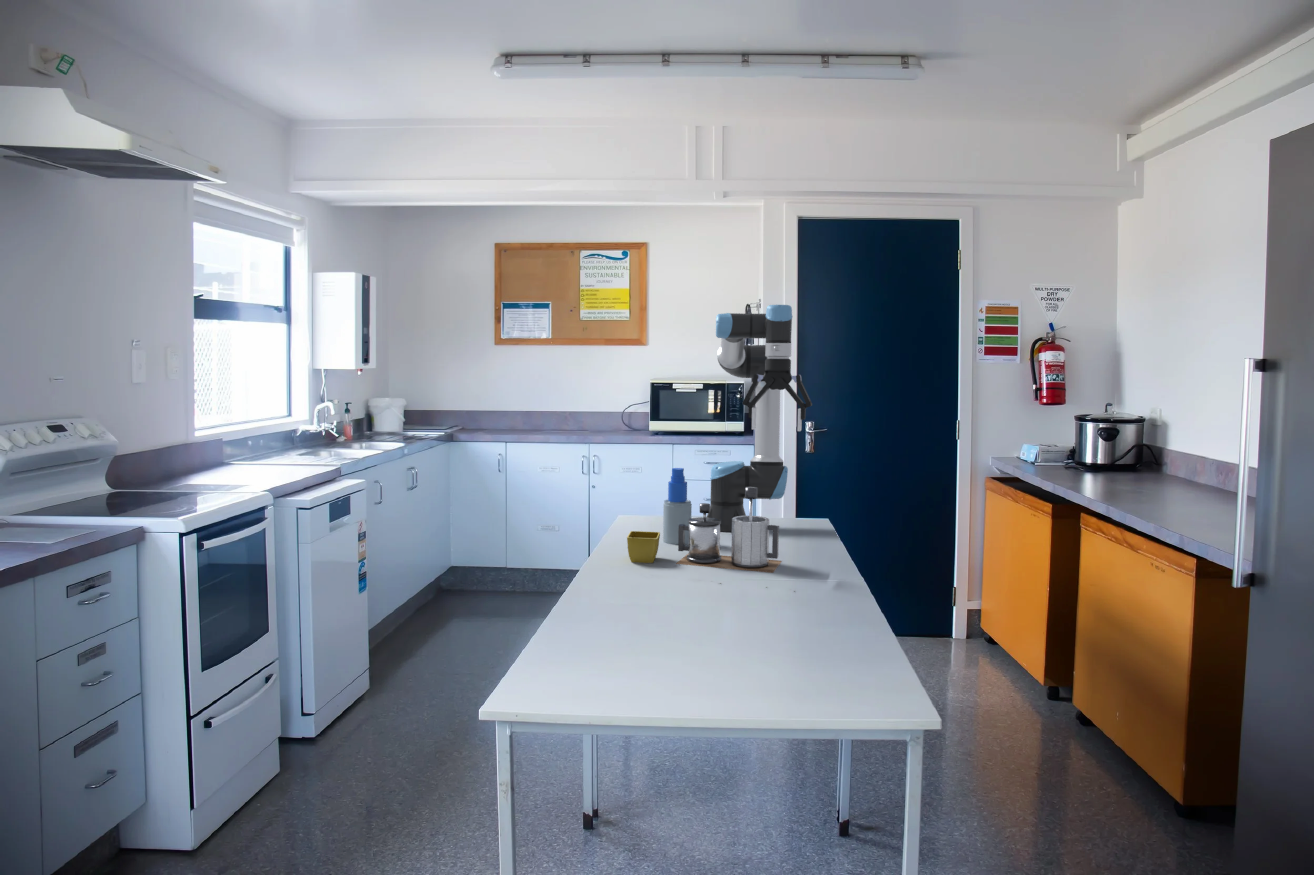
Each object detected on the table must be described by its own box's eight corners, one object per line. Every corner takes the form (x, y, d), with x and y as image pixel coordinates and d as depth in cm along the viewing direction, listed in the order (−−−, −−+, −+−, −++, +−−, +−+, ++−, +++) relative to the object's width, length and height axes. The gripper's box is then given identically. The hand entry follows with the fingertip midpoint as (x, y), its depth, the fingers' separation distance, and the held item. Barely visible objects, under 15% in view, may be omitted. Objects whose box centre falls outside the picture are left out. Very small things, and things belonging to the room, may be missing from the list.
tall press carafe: (736, 558, 236) (736, 514, 235) (780, 562, 232) (781, 517, 231) (727, 566, 227) (728, 521, 225) (773, 571, 222) (774, 524, 221)
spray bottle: (690, 542, 262) (691, 466, 260) (691, 549, 253) (692, 470, 251) (663, 542, 262) (663, 466, 260) (662, 549, 254) (663, 470, 251)
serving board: (689, 557, 243) (689, 552, 243) (782, 565, 234) (782, 560, 234) (675, 568, 230) (675, 563, 230) (772, 578, 221) (773, 572, 221)
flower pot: (660, 561, 238) (660, 531, 237) (657, 569, 229) (657, 538, 228) (630, 560, 239) (630, 530, 238) (626, 568, 230) (626, 537, 229)
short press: (684, 553, 241) (684, 499, 240) (725, 557, 237) (725, 502, 236) (673, 561, 232) (674, 505, 230) (716, 565, 228) (717, 508, 226)
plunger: (741, 549, 234) (742, 485, 232) (764, 551, 232) (765, 486, 230) (735, 554, 227) (736, 488, 226) (759, 557, 225) (760, 490, 223)
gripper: (733, 357, 237) (732, 429, 240) (819, 358, 229) (817, 432, 232) (739, 357, 245) (738, 427, 247) (822, 358, 236) (820, 430, 239)
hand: (776, 430), depth 239 cm, fingers open, 13 cm apart
